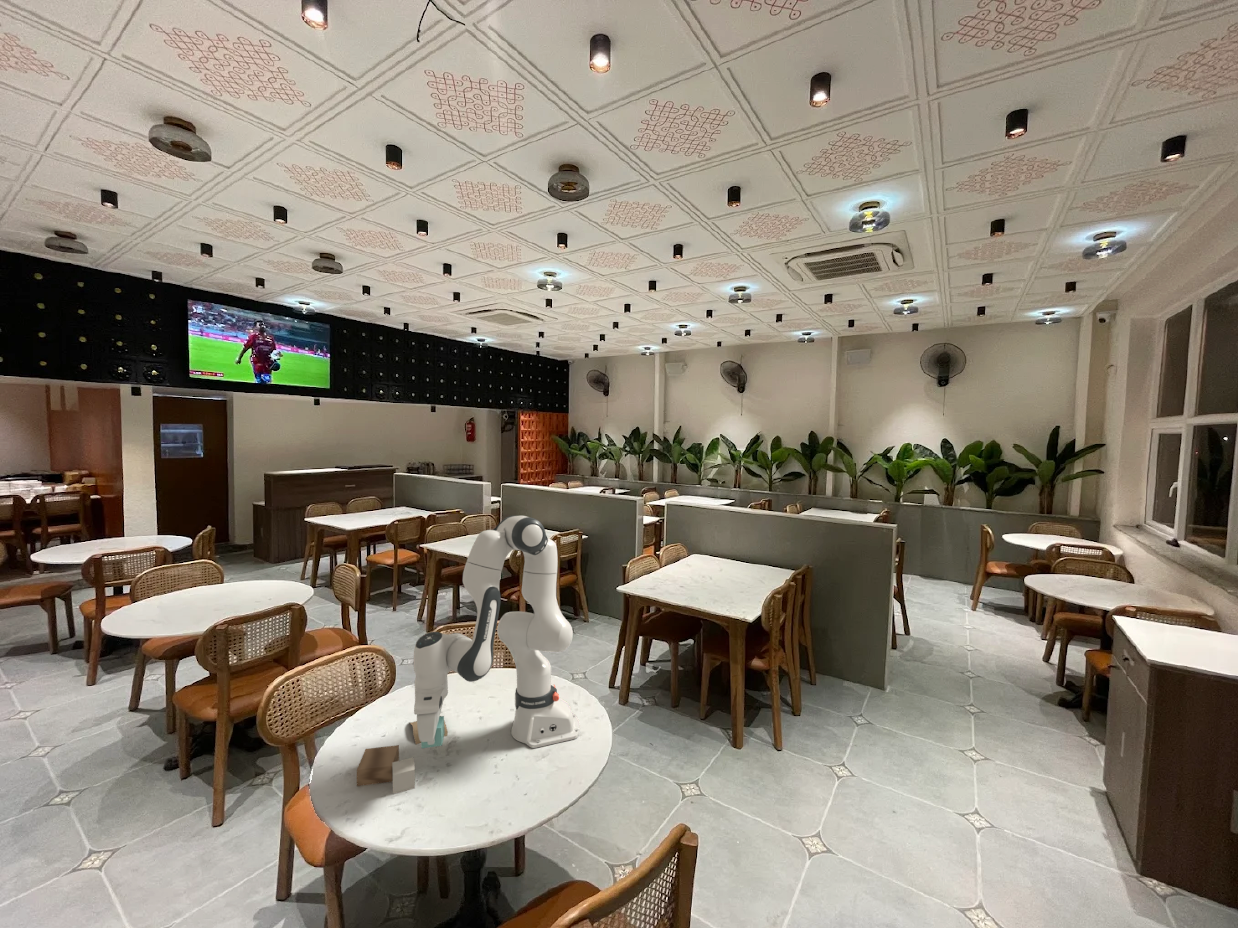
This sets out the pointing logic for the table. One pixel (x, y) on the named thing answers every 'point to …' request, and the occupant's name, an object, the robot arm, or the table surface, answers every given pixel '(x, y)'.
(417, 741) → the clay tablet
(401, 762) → the grey cube
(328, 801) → the table surface
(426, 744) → the teal cube
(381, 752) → the walnut base
